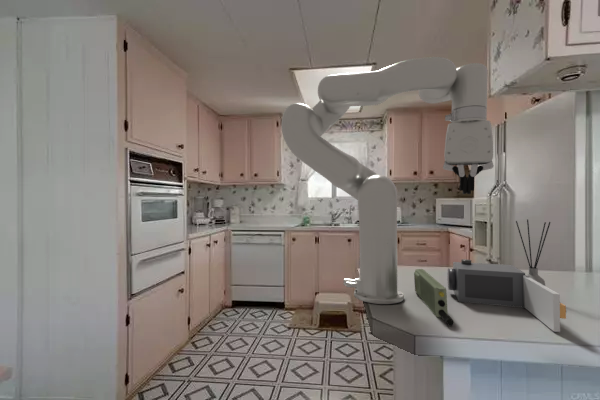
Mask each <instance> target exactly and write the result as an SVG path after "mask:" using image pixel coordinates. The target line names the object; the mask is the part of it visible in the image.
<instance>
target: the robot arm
mask: <svg viewBox="0 0 600 400" xmlns="http://www.w3.org/2000/svg"><path fill="white" fill-rule="evenodd" d="M488 71H489V70H488V67H487V66H486V65H485V64H483V63H478V62H475V63H474V62H473V63H467V64H463V65H461V66H458V67H457V66H456V64H455V63H454V62H453V61H452V60H451V59H449V58H446V57H442V56H441V57H440V56H431V57H429V56H427V57H418V58H411V59H410V58H409V59H406V60H403V61H399V62H396V63H394V64H392V65H388V66H386V67H383V68H381V69H379V70H373V71H364V72H363V71H360V72H350V73H349V72H346V73H337V74H330V75H329V74H328V75H326V76H324V77H323V78H322V79H321V80H320V81H319V83H318V86H317V96H318V98H319V101H318V102H317V103H316V104H315V105H314V106H313V107H311V106H309V105H308V104H304V103H301V102H294V103H292V104H290V105H288V106H287V107H286V108H285V110H284V112H283V114H282V117H281V134H282V137H283V141H284V142H285V144H286V146H287V148H288V150H290V151H291V153H292V154H294V156H295V157H296V158H297V159H298V160H300V161H301V162H302V163H303V164H305V165H307V166H308V167H309V168H310V169H312V170H313V171H314V172H316V173H317V174H319V175H320V176H321V177H323V178H324V179H325V180H327V181H328V182H330V183H331V184H332V185H333V186H334V187H336V188H338V189H340V190H342V191H343V192H345V193H346V194H347V195H349V196H350V197H352V198H354V199H355V200H356V201H357V202H358V203H357V204H358V221H359V222H358V224H359V227H358V228H359V229H358V233H359V234H358V236H359V277H356V278H355V279H352V278H344V279H343V286H345V287H346V288H355V289H354V290H353V297H355V299H356V300H359V301H361V302H365V303H370V304H377V305H391V304H393V305H394V304H397V303H401V302H403V301H404V299H405V294H404V293H403V292H402V291H401V290H398V289H399V287H398V285H399V284H398V282H399V280H398V189H397V187H396V185H395V183H394V182H393V180H391V179H390V178H389V177H388V176H385V175H382V174H377V173H376V172H374V171H373V170H372V169H370V168H368V167H367V166H365V165H364V164H362V163H361V162H360V161H359V159H357V158H356V157H355V156H352V155H351V154H348V153H346V152H345V151H343V150H341V149H339V148H338V147H337V146H335V145H333V144H332V143H330V142H329V141H327V139H325V138H323V137H322V136H323V135H324V134H325V133H326V132H328V131H329V129H331V128H332V127H333V126H334V125H335V124H336V123H337V122H338V121H339V120H340V119H341V118H342V117H343V116H344V115H345V114H346V113H347V112H348V110H349V109H350V108H351V107H361V106H362V107H365V106H366V107H367V106H368V107H369V106H370V107H371V106H378V105H380V104H383V103H384V102H385V101H387V100H388V99H390V98H392V97H393V96H396V95H398V94H402V93H406V92H407V93H408V92H417V91H418V95H419V98H420V99H421V101H423V102H424V103H428V104H439V103H443V102H449V101H451V112H450V113H449V114H446V115H444V122H445V121H446V122H447V121H448V122H450V123H447V129H446V132H445V141H444V154H443V155H444V162H443V166H442V169H443V170H445V171H451V172H453V173H455V175H457V176H458V178H459V191H462V195H466V194H467V195H471V194H472V192H473V191H474V190H475V178H476V176H477V175H478V174H479V173H481V172H483V171H488V170H491V169H493V168H494V163H493V159H494V139H493V138H494V137H493V136H494V135H493V127H492V122H491V121H490V120H487V119H488V118H487V117H488V116H487V115H488V82H489V81H488V78H489V76H488V74H489V73H488ZM465 166H470V170H469V174H468V175H467V174H465V173H466V172H465Z"/></svg>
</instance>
